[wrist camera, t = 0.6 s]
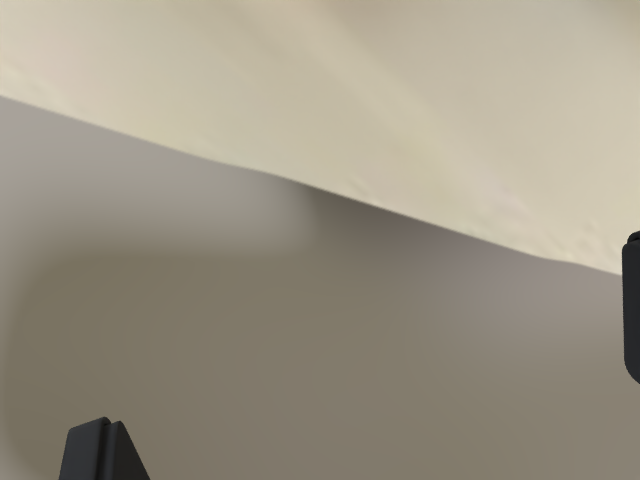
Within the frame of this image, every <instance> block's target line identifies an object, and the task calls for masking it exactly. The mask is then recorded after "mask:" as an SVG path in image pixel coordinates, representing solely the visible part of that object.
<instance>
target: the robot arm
mask: <svg viewBox="0 0 640 480" xmlns="http://www.w3.org/2000/svg"><path fill="white" fill-rule="evenodd" d="M622 278H623V320H624V321H623V322H624V361H625V365H626V368H627V370H628V372H629V374H630V375H631V376H632V378H633V379H634V380H635V381H637V382H638V383H639V384H640V231H637V232H634V233H632V234H631V235H630V236H629V238H628V240H627V244H625V245H624V247H623V249H622ZM59 480H150V478H149V476H148V474H147V472H146V470H145V468H144V466H143V463H142V462H141V459H140V457H139V455H138V453H137V451H136V449H135V447H134V445H133V443H132V440H131V438H130V436H129V434H128V432H127V430H126V428H125V426H124V424H123V423H122V422H121V421H117V422H115V423H112V424H111V422H110V420H109V419H108V418H107V417H102V418H99V419H96V420H93V421H91V422H87V423H85V424H82V425H79V426H76V427H73V428H71V429H70V430H69V432H68V435H67V440H66V445H65V451H64V455H63V460H62V465H61V470H60V476H59Z"/></svg>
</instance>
